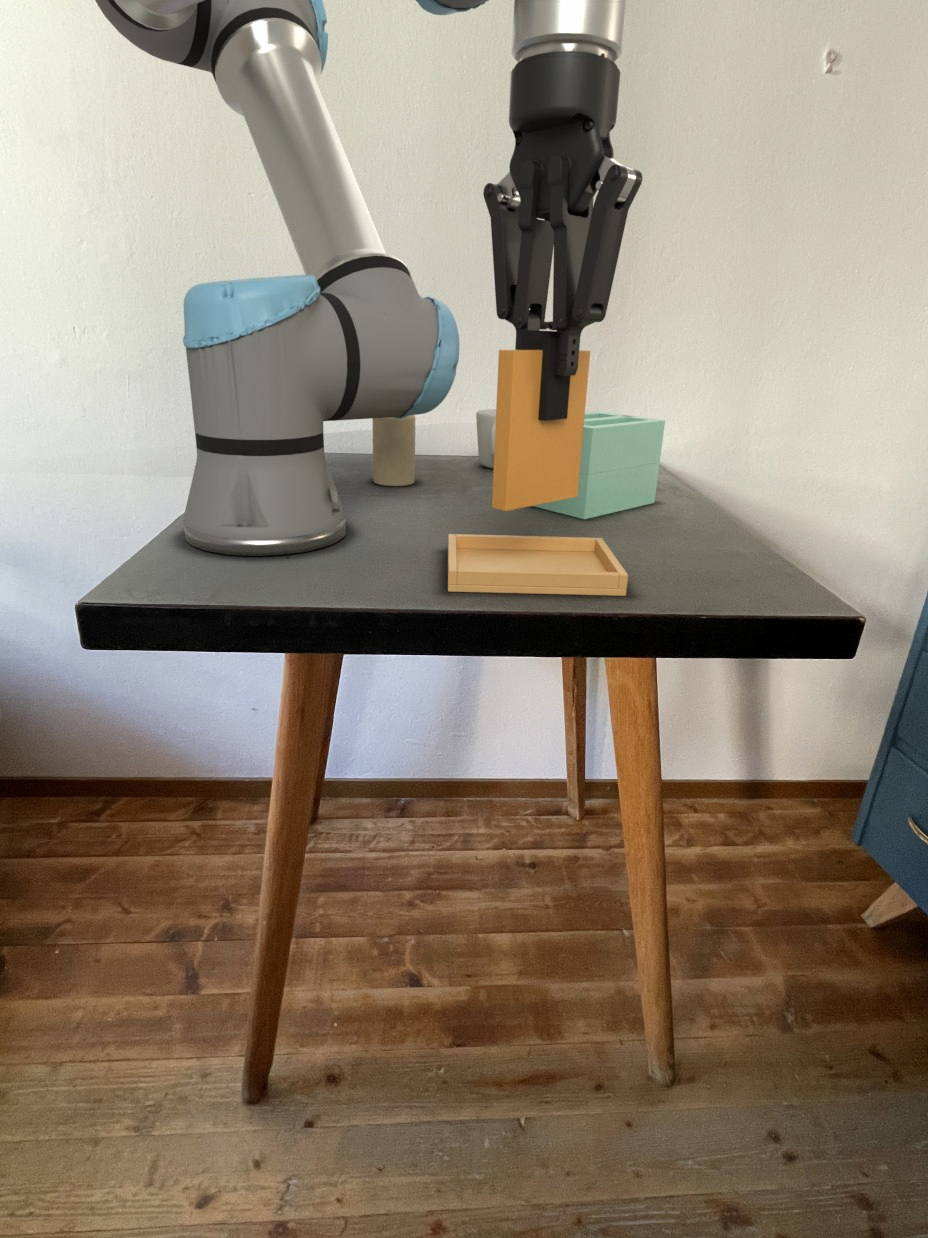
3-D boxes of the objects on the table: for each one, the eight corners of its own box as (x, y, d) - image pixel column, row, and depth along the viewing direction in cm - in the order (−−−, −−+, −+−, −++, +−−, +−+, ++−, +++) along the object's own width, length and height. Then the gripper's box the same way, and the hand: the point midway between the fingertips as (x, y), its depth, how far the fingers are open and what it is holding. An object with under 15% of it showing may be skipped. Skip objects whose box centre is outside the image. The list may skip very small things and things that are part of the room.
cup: (521, 477, 104) (524, 418, 101) (465, 473, 105) (467, 415, 102) (530, 464, 114) (533, 410, 111) (479, 460, 115) (481, 407, 112)
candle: (416, 478, 101) (417, 402, 97) (413, 487, 96) (413, 407, 92) (376, 477, 101) (375, 401, 97) (370, 485, 96) (369, 405, 92)
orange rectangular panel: (491, 507, 60) (498, 349, 55) (563, 493, 65) (575, 349, 61) (505, 511, 59) (514, 350, 54) (577, 496, 64) (590, 350, 60)
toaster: (512, 504, 89) (517, 418, 85) (590, 488, 98) (597, 411, 95) (577, 521, 82) (586, 428, 78) (654, 502, 92) (665, 420, 88)
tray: (447, 591, 59) (448, 570, 58) (447, 552, 69) (448, 533, 69) (625, 596, 60) (628, 575, 59) (600, 556, 70) (602, 537, 69)
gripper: (689, 54, 48) (645, 424, 57) (524, 95, 58) (508, 406, 67) (621, 21, 43) (584, 431, 52) (453, 72, 53) (446, 410, 62)
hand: (542, 416), depth 59 cm, fingers closed on orange rectangular panel, 1 cm apart
